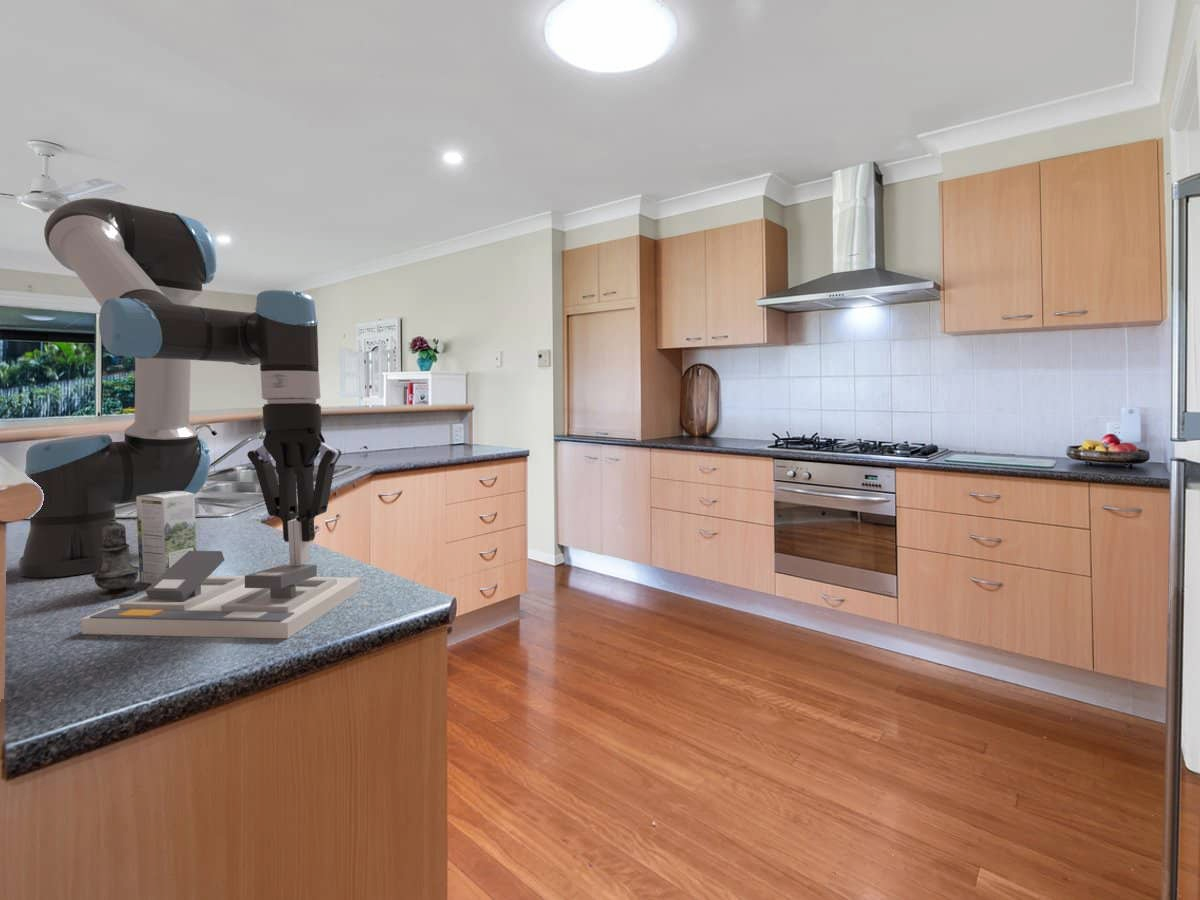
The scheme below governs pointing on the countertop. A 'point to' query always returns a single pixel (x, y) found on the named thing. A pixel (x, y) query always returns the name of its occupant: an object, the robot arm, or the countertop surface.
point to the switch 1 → (185, 575)
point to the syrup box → (164, 531)
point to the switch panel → (226, 610)
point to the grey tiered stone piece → (115, 564)
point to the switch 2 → (280, 576)
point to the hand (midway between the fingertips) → (300, 563)
